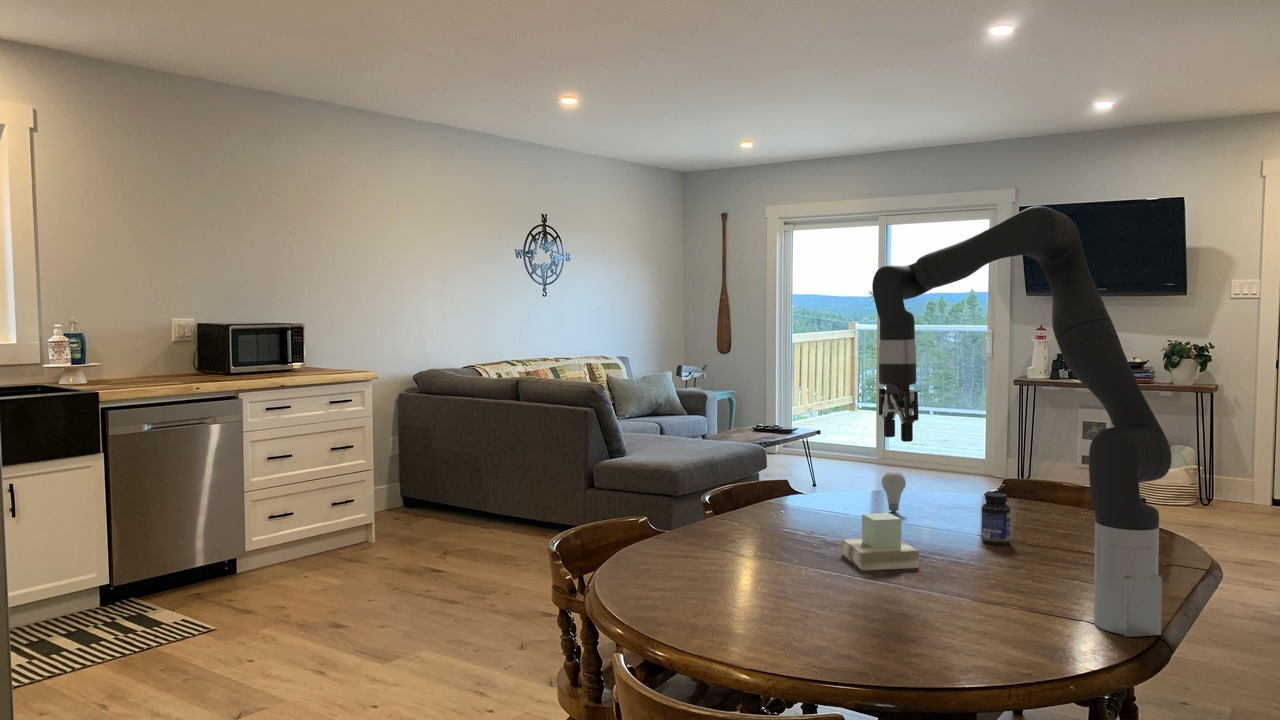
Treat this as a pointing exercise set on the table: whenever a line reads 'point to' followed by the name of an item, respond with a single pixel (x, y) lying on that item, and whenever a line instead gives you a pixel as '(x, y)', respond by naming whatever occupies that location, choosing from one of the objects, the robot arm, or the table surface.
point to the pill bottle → (996, 519)
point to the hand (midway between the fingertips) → (897, 439)
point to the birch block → (880, 555)
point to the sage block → (881, 530)
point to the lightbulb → (893, 488)
